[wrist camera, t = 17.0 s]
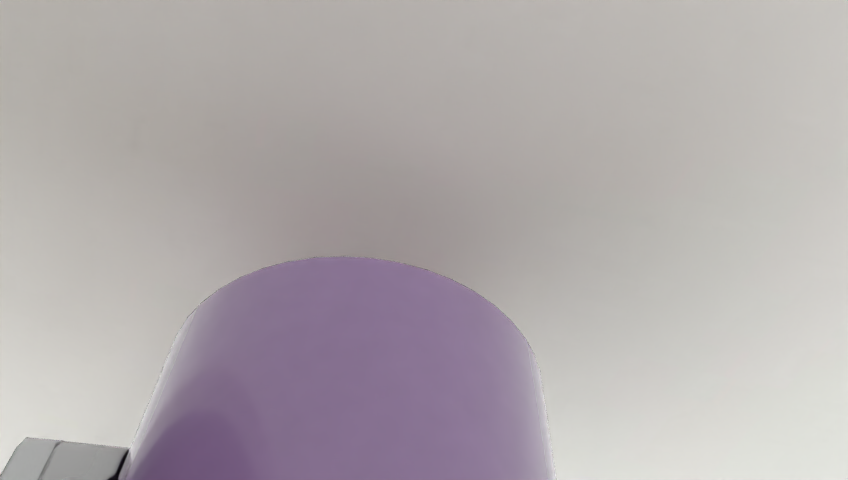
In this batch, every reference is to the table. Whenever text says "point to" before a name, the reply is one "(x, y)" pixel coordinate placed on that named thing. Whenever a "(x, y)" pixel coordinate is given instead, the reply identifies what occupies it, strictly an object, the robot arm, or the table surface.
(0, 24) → the table surface
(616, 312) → the table surface
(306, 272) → the dish
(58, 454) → the robot arm
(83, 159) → the table surface
